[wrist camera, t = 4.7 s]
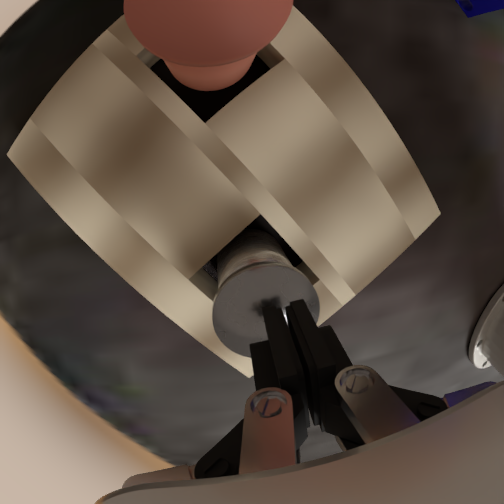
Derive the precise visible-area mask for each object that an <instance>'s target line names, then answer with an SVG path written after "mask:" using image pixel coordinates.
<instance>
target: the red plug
mask: <svg viewBox="0 0 504 504" xmlns="http://www.w3.org/2000/svg"><path fill="white" fill-rule="evenodd" d="M292 6H293V0H124V15H125V20H126V22H127V25H128V27H129V29H130V30H131V32H132V33H133V35H134V36H135V37H136V39H137V40H138V41H139V42H140V43H141V44H142V46H143V47H144V48H145V49H147V50H148V51H149V52H151V53H152V54H154V55H155V56H157V57H159V58H161V59H163V60H164V62H165V63H166V65H167V67H168V68H169V70H170V71H171V73H172V74H173V76H174V77H175V78H176V79H177V80H178V81H179V82H180V83H182V84H183V85H185V86H187V87H189V88H192V89H195V90H200V91H215V90H220V89H224V88H226V87H229V86H231V85H233V84H234V83H236V82H237V81H239V80H240V79H241V78H242V77H243V76H244V75H245V74H246V73H247V71H248V69H249V68H250V66H251V64H252V62H253V60H254V58H255V56H256V54H257V52H258V51H260V50H261V49H263V48H264V47H265V46H267V45H268V44H269V43H270V42H271V41H272V40H273V39H274V38H275V37H276V36H277V34H278V33H279V32H280V30H281V29H282V27H283V26H284V24H285V23H286V21H287V19H288V17H289V15H290V13H291V9H292Z"/></svg>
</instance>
